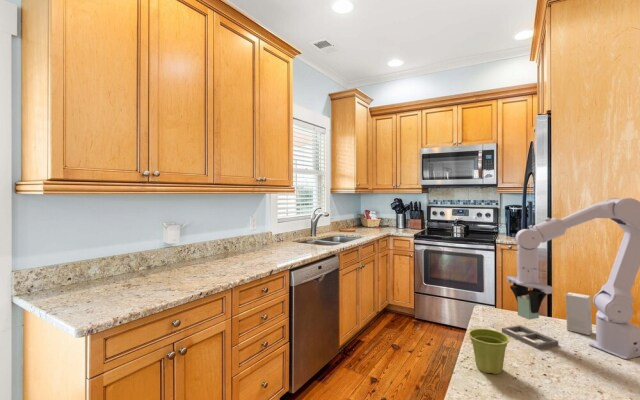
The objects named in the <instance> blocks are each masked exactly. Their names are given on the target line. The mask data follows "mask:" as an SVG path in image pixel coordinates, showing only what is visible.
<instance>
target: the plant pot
mask: <svg viewBox="0 0 640 400" xmlns="http://www.w3.org/2000/svg"><path fill="white" fill-rule="evenodd" d="M468 336H469V339H470V341H471V343H472V347H473V354H474V360H475V365H476V369H478V370H479V371H481V372H483V373H484V374H493V375H499V374H501V373H503V369H504V361H505V355H506V348H507V346H508V343H509V342H510V337H509V335H507V334H505V333H503V332H502V331H501V332H500V331H498V330H493V329H488V328H474V329H471V330H470V331H469V332H468Z"/></svg>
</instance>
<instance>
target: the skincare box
mask: <svg viewBox="0 0 640 400" xmlns="http://www.w3.org/2000/svg"><path fill="white" fill-rule="evenodd" d="M565 310H566V311H565V315H566V330H567V331H570V332H574V333H578V334H583V335H587V336H590V335H591V334H592V333H593V324H592V323H593V321H592V318H593V317H592V297H591V295H589V294H588V295H586V294H583V293H577V292H576V293H575V292H570V291H569V292H567V293H566V294H565Z"/></svg>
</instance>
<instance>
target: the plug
mask: <svg viewBox="0 0 640 400" xmlns="http://www.w3.org/2000/svg"><path fill="white" fill-rule="evenodd" d="M517 301H518V303H517V315H518V316H519V317H520V318H524V319H527V320H535V319H540V311H539V312H538V313H532V312H531V302H530V297H529V294H526V295H522V296H518V297H517V300H516V302H517Z"/></svg>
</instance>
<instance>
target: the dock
mask: <svg viewBox="0 0 640 400" xmlns="http://www.w3.org/2000/svg"><path fill="white" fill-rule="evenodd" d="M516 331H520V332H523V333H525V334H519V333H518V332H516ZM501 333H503V334H505V335H506V336H508V337H509V336H510V337H512V338H513V339H516V340H518V341H521V342H522V343H525V344H527V345H529V346H531V347H533V348H535V349H537V350H540V349H546V348H550V347H554V346H559V340H557V339H554V338H552V337H550V336H547V335H544V334H543V333H540V332H538V331H535V330H533V329H531V328H528V327H526V326H523V325H521V324H520V325H519V324H518V325H513V326H508V327H502V328H501ZM535 338H537V339H539V340H542V341H543V342H537V341H535V340H533V339H535Z"/></svg>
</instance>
